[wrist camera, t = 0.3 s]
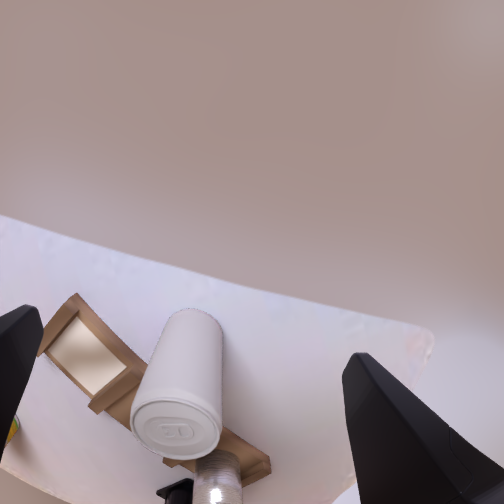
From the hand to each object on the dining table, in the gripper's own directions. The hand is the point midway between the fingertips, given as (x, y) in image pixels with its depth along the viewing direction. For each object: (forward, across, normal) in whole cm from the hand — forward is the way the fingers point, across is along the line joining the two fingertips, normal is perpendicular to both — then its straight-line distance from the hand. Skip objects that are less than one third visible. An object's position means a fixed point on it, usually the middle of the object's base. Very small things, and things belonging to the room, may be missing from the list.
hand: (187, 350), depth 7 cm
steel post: (+8, -3, +25) cm, 27 cm away
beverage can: (+14, +1, +12) cm, 18 cm away
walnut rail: (+11, +4, +20) cm, 23 cm away
